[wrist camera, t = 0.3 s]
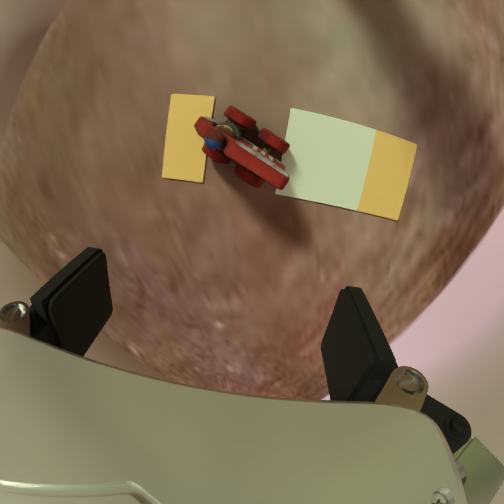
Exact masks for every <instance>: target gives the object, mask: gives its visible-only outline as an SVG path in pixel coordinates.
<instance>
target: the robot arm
mask: <svg viewBox="0 0 504 504" xmlns="http://www.w3.org/2000/svg"><path fill="white" fill-rule="evenodd" d="M30 300H31V303H32V305H31V306H30V307H29V306H28V305H27V303H24V302H22V301H14V302H10V303H8V304H6V305H5V306H3V307H2V308H1V310H0V504H490V502H491V501H492V499H493V498H494V496H495V494H496V492H497V491H498V489H499V488H500V486H501V484H502V483H503V480H504V466H503V465H502V463H501V462H500V461H499V460H498V459H497V458H496V457H495V456H494V455H493V454H492V453H491V452H490V451H489V450H488V449H487V448H486V447H485V446H484V445H483V444H482V443H481V442H480V441H479V440H478V439H477V438H476V437H474V438H473V439H472V438H471V427H470V425H469V422H468V421H467V420H466V419H465V418H464V417H463V416H462V415H460V414H459V413H457V412H455V411H453V410H452V409H450V408H449V407H447V406H445V405H444V404H442V403H440V402H438V401H437V400H435V399H434V398H432V397H430V396H429V395H427V392H428V382H427V380H426V378H425V377H424V376H423V374H422V373H420V372H419V371H418V370H416V369H414V368H411V367H407V366H401V367H398V365H397V363H396V361H395V357H394V355H393V353H392V350H391V349H390V346H389V344H388V342H387V340H386V337H385V335H384V333H383V331H382V329H381V327H380V325H379V323H378V321H377V318H376V316H375V314H374V312H373V310H372V308H371V306H370V304H369V302H368V300H367V298H366V296H365V294H364V292H363V291H362V289H361V288H358V287H350V286H347V287H346V288H345V289H341V290H340V293H339V295H338V298H337V301H336V304H335V307H334V310H333V313H332V316H331V318H330V321H329V324H328V327H327V329H326V332H325V335H324V337H323V340H322V343H321V352H322V357H323V362H324V367H325V372H326V378H327V383H328V389H329V394H330V400H309V399H293V398H280V397H269V396H259V395H251V394H243V393H235V392H228V391H222V390H215V389H209V388H204V387H198V386H193V385H188V384H183V383H178V382H173V381H169V380H164V379H160V378H155V377H151V376H147V375H143V374H140V373H136V372H132V371H128V370H124V369H121V368H118V367H114V366H111V365H108V364H104V363H101V362H98V361H95V360H92V359H89V358H86V357H83V356H84V355H85V353H86V352H87V350H88V349H89V347H90V345H91V344H92V343H93V341H94V340H95V338H96V337H97V335H98V334H99V332H100V331H101V329H102V328H103V326H104V325H105V323H106V322H107V321H108V319H109V318H110V316H111V314H112V310H113V307H112V300H111V294H110V286H109V279H108V270H107V261H106V255H105V253H103V251H102V250H101V249H98V248H92V247H88V248H86V249H85V250H84V251H83V252H82V253H80V254H79V255H78V256H77V257H75V258H74V259H73V260H72V261H71V262H70V263H68V264H67V265H66V266H65V267H64V268H63V269H61V270H60V271H59V272H58V273H57V274H56V275H55V276H53V277H52V278H51V279H50V280H49V281H48V282H47V283H46V284H45V285H44V286H42V287H41V288H40V290H38V291H37V292H36V293H35V294H34V295H33V296H32V297H31V298H30Z"/></svg>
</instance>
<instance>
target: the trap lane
mask: <svg viewBox="0 0 504 504" xmlns="http://www.w3.org/2000/svg"><path fill="white" fill-rule="evenodd" d="M214 100H215V97H212V96H200V95H185V94H172V95H171V102H170V109H169V116H168V124H167V132H166V140H165V150H164V160H163V172H162V178H171V179H179V180H187V181H195V182H202V183H203V179H204V170H205V162H206V154H204V152H203V151H202V147H203V145H204V139H203V138H201V137H200V136H199V135H198V134H197V131H196V129H195V127H194V124H195V123H196V121H197V120H198V119H199V117H201V116H202V117H209V118H211V119H212V113H213V106H214ZM285 141H286V142H288V143H289V144H290V147H289V149H288V150H287V152H286V153H285V154H282V159H281V163H283V164H284V165H285V172H286V173H287V174H288V175H289V178H290V179H289V182H288V183H287V185H286V186H285V188H284V189H283V190H279V189H277V188H276V191H275V194H278V195H283V196H289V197H294V198H299V199H304V200H309V201H314V202H319V203H324V204H329V205H334V206H338V207H343V208H347V209H352V210H356V211H361V212H365V213H369V214H373V215H377V216H382V217H386V218H390V219H394V220H398V218H399V214H400V211H401V208H402V204H403V201H404V197H405V194H406V190H407V187H408V183H409V179H410V175H411V171H412V167H413V163H414V159H415V154H416V150H417V144H415V143H412V142H409V141H407V140H404V139H401V138H399V137H396V136H393V135H390V134H387V133H384V132H381V131H378V130H375V129H372V128H369V127H365V126H362V125H359V124H355V123H352V122H348V121H345V120H341V119H337V118H333V117H330V116H326V115H321V114H317V113H313V112H308V111H304V110H299V109H294V108H291V111H290V116H289V122H288V127H287V132H286V138H285Z"/></svg>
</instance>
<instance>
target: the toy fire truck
mask: <svg viewBox="0 0 504 504" xmlns="http://www.w3.org/2000/svg"><path fill="white" fill-rule="evenodd" d="M224 115H225V116H226V117H228V119H227V120H226V122H223V123H218V122H216V121H215V120H213V119H211V118H209V117H202V116H201V117H199V119H198V120H197V121H196V123H195V124H194V127H195V129H196V131H197V134H198V135H199V136H200V137H201V138H203V139H204V145H203V147H202V151H203V152H204V154H206V155H207V156H208V157H210V158H211V159H213V160H215V161H216V162H218V163H221V164H228V163H229V162H230V160H231V159H232V160H234V161H236V162H237V163H238V165H237V166H236V168H235V169H234V172H235V174H236V175H237V176H238V177H239V178H241V179H242V180H243V181H245V182H246V183H248V184H250V185H252V186H254V187H258V188H259V187H261V186H262V185H263V183H264V182H265V181H266V182H268V183H269V184H271V185H272V186H274V187H275V188H277V189H279V190H283V189H284V188H285V186H286V185H287V183H288V182H289V179H290V178H289V175H288V174H287V173H286V172H285V165H284V164H283V163H281V162H280V161H278V160H277V159H276V158H274V157H273V156H271V155H270V154H269V153H270V152H271V151H272V149H273V148H274V149H275V150H277V151H279V152H281V153H282V154H285V153H286V152H287V150H288V149H289V147H290V144H289V143H288V142H286V141H285V140H283V139H282V138H280V137H279V136H277V135H276V134H274V133H273V132H271V131H269V130H268V129H266V128H263V129H262V130H261V131H260V133H259V134H258V138H259V139H260V140H262V141H263V142H265V143H266V144H267V145H266V146H265V148H264V149H263V150H262V149H260V148H259V147H257V146H256V145H254V144H253V143H251V142H249V141H248V140H246V139H245V138H243V137H241V136H240V134H242V132H243V131H244V129H247V130H252V129H253V127H254V126H255V124H256V120H254V119H253V118H251V117H250V116H248V115H247V114H245V113H243V112H242V111H240V110H238V109H237V108H235V107H233V106H229V107H228V108H227V110H226V111H225V112H224Z"/></svg>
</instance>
